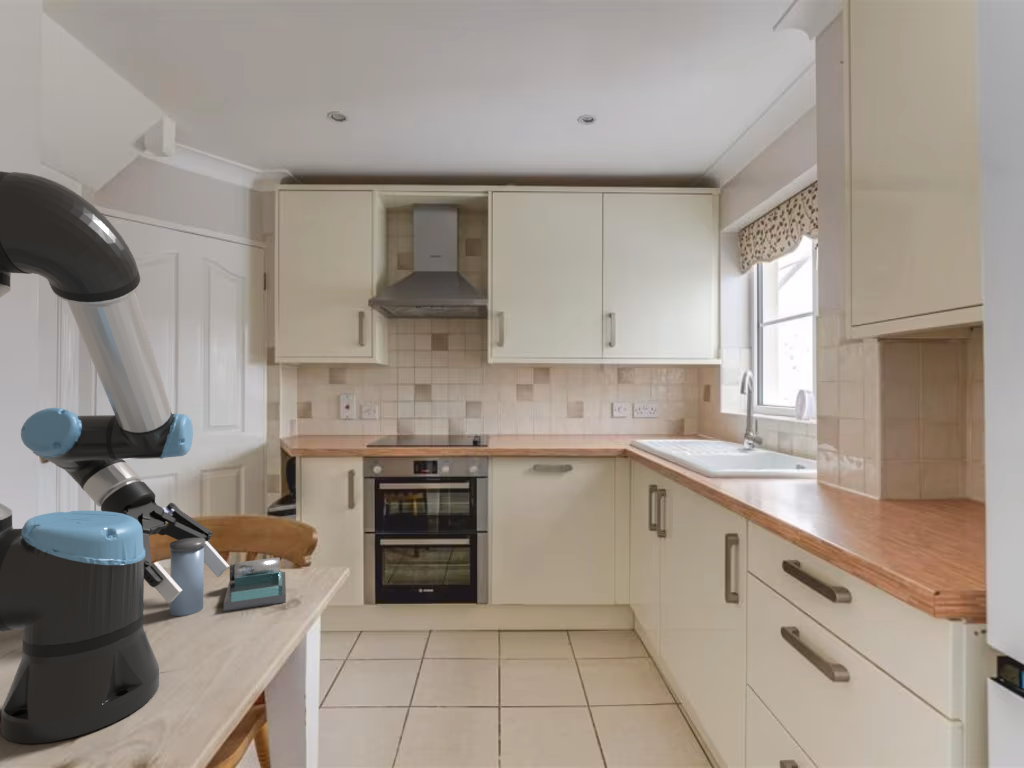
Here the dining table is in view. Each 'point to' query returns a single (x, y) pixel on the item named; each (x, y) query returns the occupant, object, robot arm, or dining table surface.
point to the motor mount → (255, 584)
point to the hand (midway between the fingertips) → (201, 583)
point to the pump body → (187, 575)
